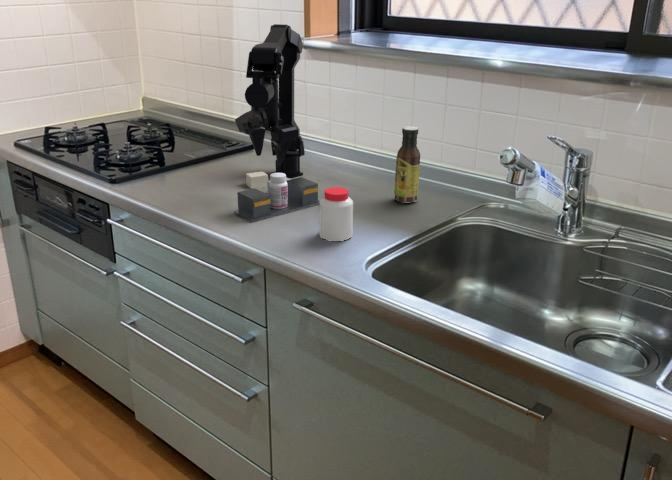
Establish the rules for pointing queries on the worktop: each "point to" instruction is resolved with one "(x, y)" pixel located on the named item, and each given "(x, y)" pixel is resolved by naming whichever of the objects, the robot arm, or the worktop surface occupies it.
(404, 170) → the sauce bottle
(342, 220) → the pill bottle
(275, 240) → the worktop surface
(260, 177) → the cream rectangular block
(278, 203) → the pill bottle
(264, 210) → the dark grey block rack
